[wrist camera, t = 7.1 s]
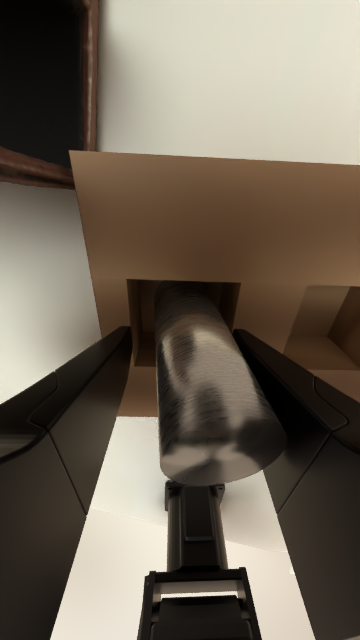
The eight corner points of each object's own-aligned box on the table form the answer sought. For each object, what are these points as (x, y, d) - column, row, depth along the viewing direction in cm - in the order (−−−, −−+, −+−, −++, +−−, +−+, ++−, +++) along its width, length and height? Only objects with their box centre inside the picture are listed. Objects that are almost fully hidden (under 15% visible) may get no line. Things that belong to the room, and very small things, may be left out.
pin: (205, 322, 13) (268, 477, 6) (154, 324, 12) (160, 491, 6) (211, 274, 11) (306, 411, 4) (152, 274, 11) (159, 424, 4)
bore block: (320, 375, 16) (354, 418, 13) (127, 372, 15) (115, 416, 12) (418, 180, 10) (529, 174, 7) (104, 164, 9) (68, 150, 6)
